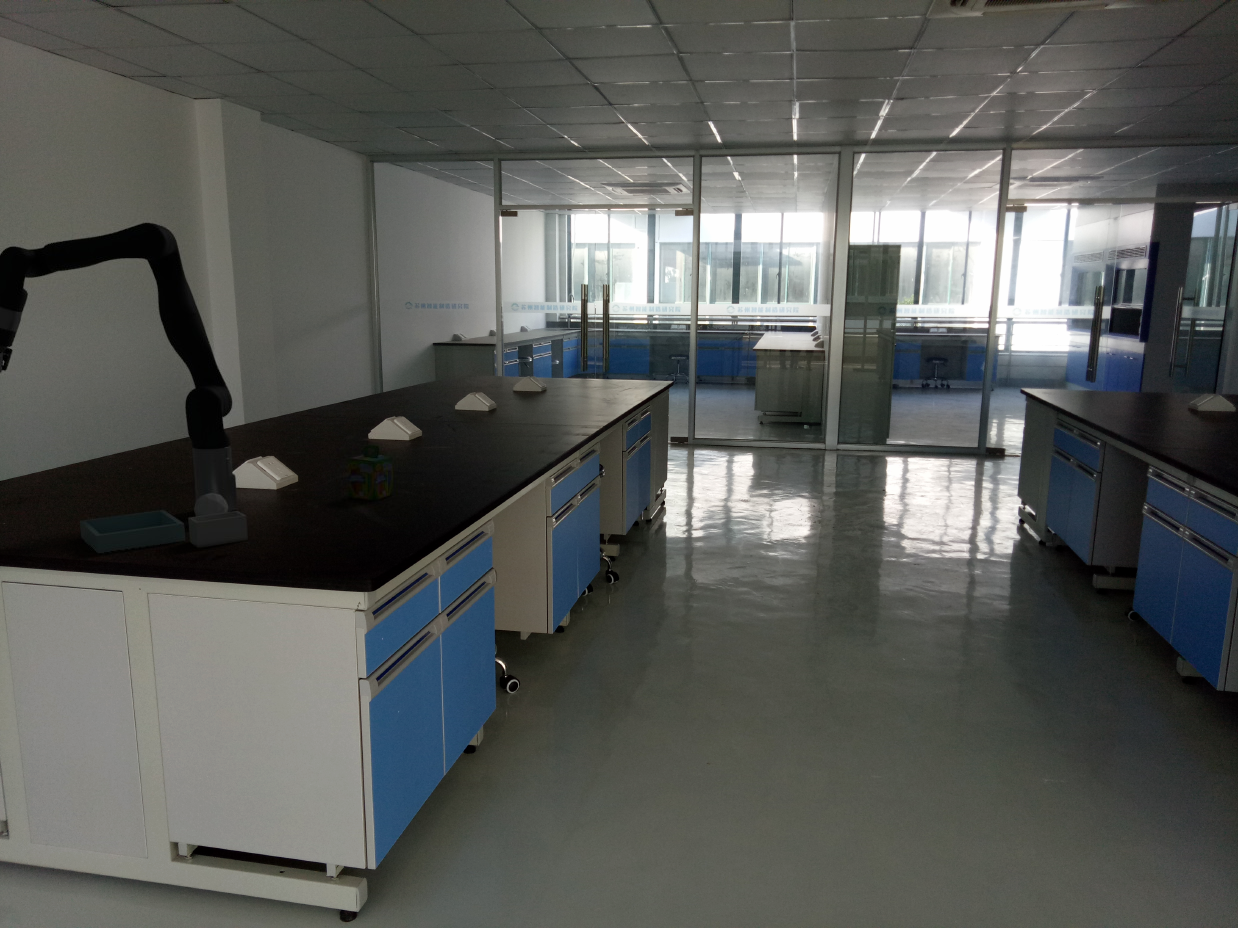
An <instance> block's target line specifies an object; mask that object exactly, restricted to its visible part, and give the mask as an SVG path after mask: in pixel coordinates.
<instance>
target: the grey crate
mask: <svg viewBox="0 0 1238 928" xmlns="http://www.w3.org/2000/svg"><path fill="white" fill-rule="evenodd" d="M247 522H248V521H247V515H245V514H244V513H242V512H240V511H239V510H232V511H229V512H226V513H219V514H212V515H204V516H197V517H196V516H191V517H188V531H189V532H188V533H189V543H191V544H192V545H193V546H195V547H196V548H207V547H211V546H217V545H218V546H219V545H223V544H231V543H236V542H241V541H242V542H243V541H248V540H249V538H248V536H249V535H248V523H247Z"/></svg>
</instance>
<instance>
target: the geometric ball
mask: <svg viewBox="0 0 1238 928" xmlns="http://www.w3.org/2000/svg"><path fill="white" fill-rule="evenodd" d="M193 510H194V514H195V517H197V516H204V515H212V514H219V513H226V512H227V511H228V505H227V502H226V500H225V499H224V498H223V497H222V496H221V495H218V494H214V493H209V494H206V495H202V496H201V497H200V498H199V499H197V500H196V499H195V504H194V508H193Z"/></svg>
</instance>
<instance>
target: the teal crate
mask: <svg viewBox="0 0 1238 928" xmlns="http://www.w3.org/2000/svg"><path fill="white" fill-rule="evenodd" d="M79 527H80V528H79V529H80V537H81V539H82V540H83V539H84V540H83V541H84V543H85V544H87V545H88V546H89V545H90V546H91V547H92V548H93V549H94V550H95V551H96V552H97V553H102V554H105V553H104V552H109V553H111V552H110V551H115V552H117V551H116V550H122V551H126V550H125V549H128V550H132V549H131V548H135V549H140V548H139V547H141V548H145V547H146V546H148V547H152V546H153V545H154V546H159V545H160V544H161V545H167V544H173V542H174V543H178V542H186V532H185V523H184V522H182V521H181V520H179V519H178V518H176V517H175V516H173V515H172V514H170V513H169V512H167V511H166V510H165V509H160V510H153V511H152V510H151V511H145V512H139V513H138V512H137V513H130V514H120V515H116V516H114V515H113V516H107V517H98V518H90V519H83V520H79ZM90 546H89V547H90ZM91 547H90V548H91ZM92 548H91V549H92ZM146 548H147V547H146ZM93 549H92V550H93ZM94 550H93V551H94ZM95 551H94V552H95ZM96 552H95V553H96ZM97 553H96V554H97Z"/></svg>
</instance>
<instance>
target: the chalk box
mask: <svg viewBox="0 0 1238 928" xmlns="http://www.w3.org/2000/svg"><path fill="white" fill-rule="evenodd" d="M370 450H373V451H374V453H373V454H372V453H369V451H370ZM363 452H364V453H363V455H358V456H354V457H349V458H348V460H347V461H348V497H349V498H351V499H358V500H365V501H366V500H367V501H373V502H375V501H377V500H381V499H384V498H386V497H391V496H393V495H394V487H393V486H394V482H393V481H394V480H393V479H394V477H393V475H394V472H393V471H394V470H393V468H394V467H393V462H394V461H393V457H392V456H389V455H382V454H380V453H379V452H380V446H379V445H374V444H373V445H370V444H366V445H365V446H364V451H363Z"/></svg>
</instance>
